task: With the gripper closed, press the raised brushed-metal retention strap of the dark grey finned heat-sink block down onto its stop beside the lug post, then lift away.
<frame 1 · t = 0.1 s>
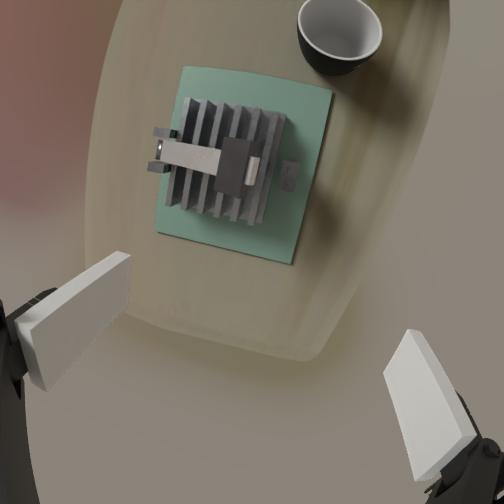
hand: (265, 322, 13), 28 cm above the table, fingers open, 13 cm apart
mug: (333, 45, 31), on the table
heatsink: (229, 158, 37), resting on board
board: (237, 160, 38), on the table
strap: (198, 157, 28), point 11 cm above the table, hinge at 30.0°
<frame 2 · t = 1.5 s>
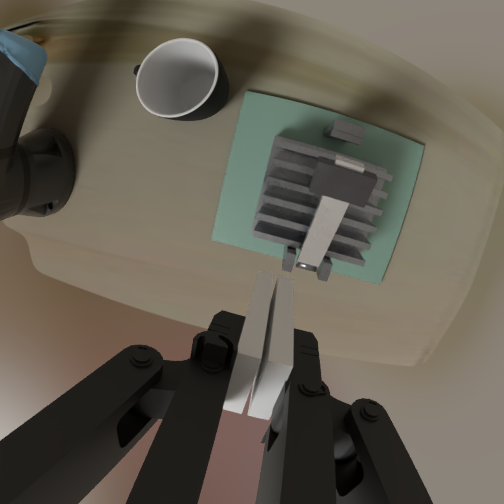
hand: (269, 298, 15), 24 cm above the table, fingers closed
mug: (193, 91, 34), on the table
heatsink: (318, 197, 36), resting on board
board: (320, 189, 36), on the table
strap: (325, 222, 27), point 11 cm above the table, hinge at 30.0°
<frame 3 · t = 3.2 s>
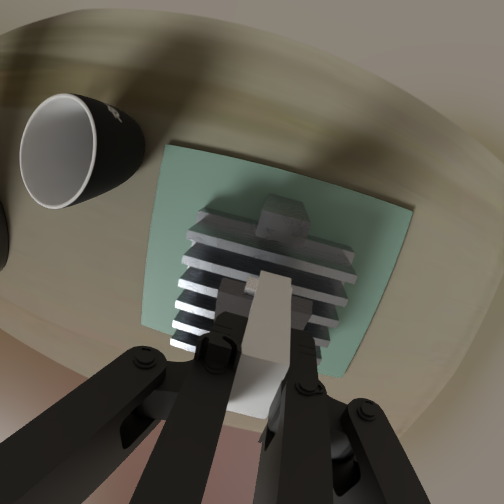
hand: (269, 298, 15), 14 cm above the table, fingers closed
mug: (108, 144, 27), on the table
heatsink: (261, 285, 29), resting on board
board: (264, 273, 29), on the table
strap: (247, 349, 20), point 10 cm above the table, hinge at 24.6°, touching gripper
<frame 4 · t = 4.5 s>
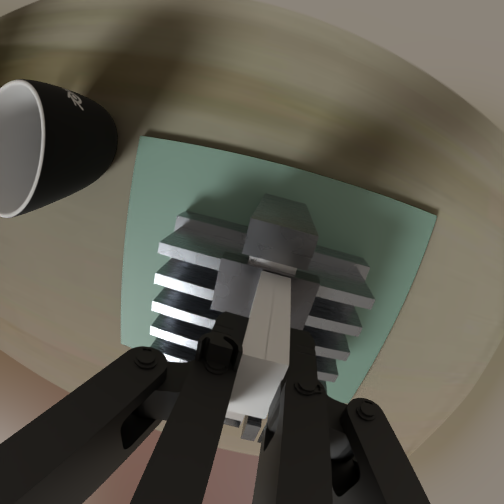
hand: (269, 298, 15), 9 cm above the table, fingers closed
mug: (79, 139, 22), on the table
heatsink: (256, 303, 24), resting on board
board: (260, 289, 24), on the table
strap: (244, 359, 17), point 8 cm above the table, hinge at 1.6°, touching gripper
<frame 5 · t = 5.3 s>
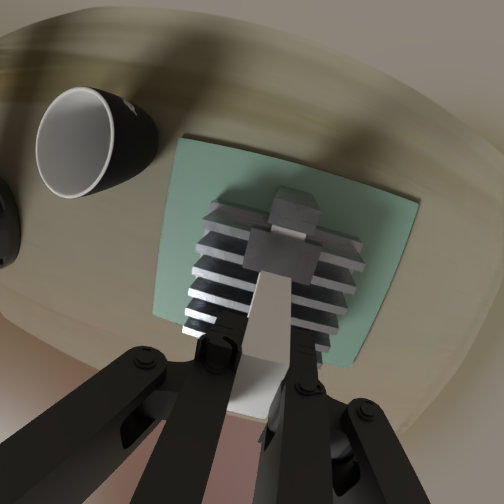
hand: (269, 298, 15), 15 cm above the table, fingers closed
mug: (122, 138, 28), on the table
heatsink: (272, 275, 29), resting on board
board: (275, 263, 30), on the table
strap: (264, 311, 23), point 8 cm above the table, hinge at 1.6°
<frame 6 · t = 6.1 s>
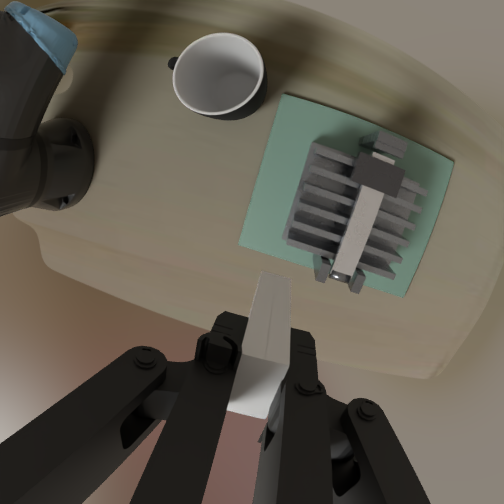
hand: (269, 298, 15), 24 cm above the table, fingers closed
mug: (226, 89, 33), on the table
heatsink: (350, 207, 35), resting on board
board: (352, 199, 35), on the table
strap: (361, 220, 28), point 8 cm above the table, hinge at 1.6°
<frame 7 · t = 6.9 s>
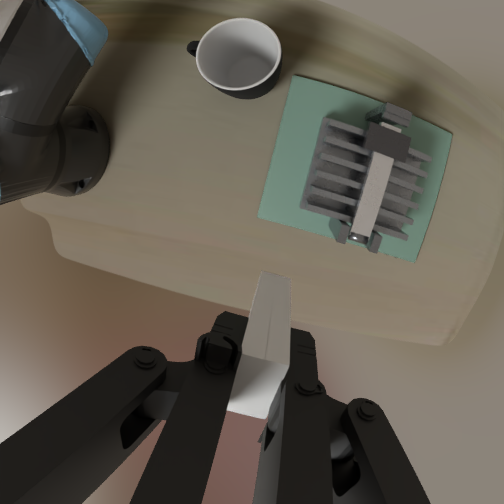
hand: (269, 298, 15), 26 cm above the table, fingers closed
mug: (240, 72, 35), on the table
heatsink: (361, 177, 36), resting on board
board: (362, 170, 37), on the table
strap: (375, 184, 30), point 8 cm above the table, hinge at 1.6°
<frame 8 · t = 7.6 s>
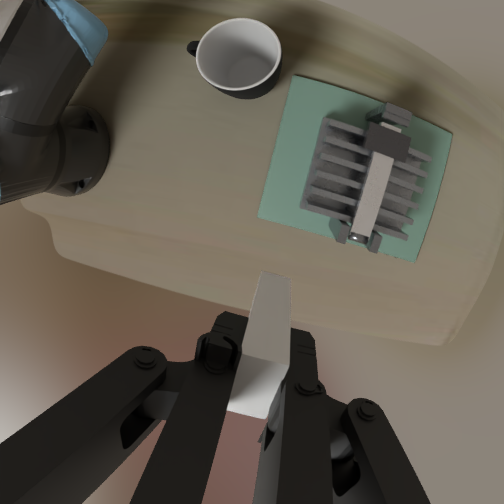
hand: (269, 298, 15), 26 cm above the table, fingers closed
mug: (240, 72, 35), on the table
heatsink: (361, 177, 36), resting on board
board: (362, 170, 37), on the table
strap: (375, 184, 30), point 8 cm above the table, hinge at 1.6°
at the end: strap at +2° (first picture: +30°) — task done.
